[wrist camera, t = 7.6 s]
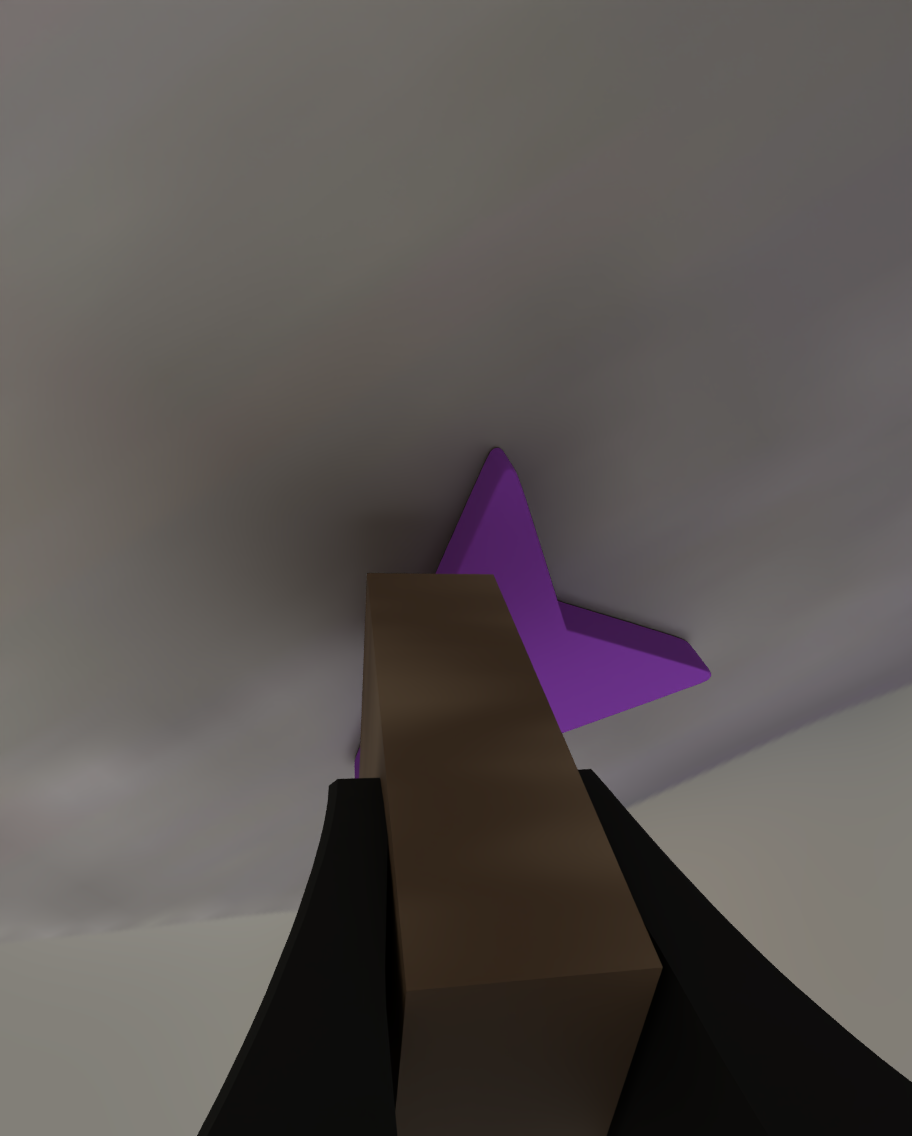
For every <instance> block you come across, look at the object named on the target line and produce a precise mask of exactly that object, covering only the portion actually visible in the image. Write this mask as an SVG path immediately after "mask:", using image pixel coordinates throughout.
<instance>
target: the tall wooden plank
mask: <svg viewBox="0 0 912 1136" xmlns="http://www.w3.org/2000/svg"><path fill="white" fill-rule="evenodd" d="M359 778H380V780H381V787H382V794H383V801H384V809H385V817H386V825H387V834H388V857H387V904H386V950H385V983H386V1011H387V1023H388V1034H389V1046H390V1058H391V1069H392V1081H393V1093H394V1104H395V1114H396V1125H397V1136H607V1133H608V1130H609V1127H610V1124H611V1121H612V1118H613V1115H614V1112H615V1109H616V1106H617V1103H618V1100H619V1097H620V1094H621V1091H622V1088H623V1085H624V1082H625V1079H626V1076H627V1073H628V1070H629V1067H630V1064H631V1061H632V1058H633V1055H634V1052H635V1049H636V1046H637V1043H638V1040H639V1037H640V1034H641V1031H642V1028H643V1025H644V1022H645V1019H646V1016H647V1013H648V1010H649V1007H650V1004H651V1001H652V998H653V995H654V992H655V989H656V986H657V983H658V980H659V977H660V974H661V971H662V968H663V967H662V964H661V962H660V960H659V957H658V955H657V953H656V950H655V948H654V946H653V944H652V941H651V939H650V937H649V934H648V932H647V930H646V927H645V925H644V923H643V920H642V918H641V916H640V913H639V911H638V909H637V906H636V904H635V902H634V899H633V897H632V895H631V892H630V890H629V888H628V885H627V883H626V881H625V879H624V876H623V874H622V872H621V869H620V867H619V865H618V862H617V860H616V858H615V855H614V853H613V851H612V848H611V846H610V844H609V841H608V839H607V837H606V834H605V832H604V830H603V827H602V825H601V823H600V820H599V818H598V816H597V814H596V811H595V809H594V807H593V804H592V802H591V800H590V797H589V795H588V793H587V790H586V788H585V786H584V783H583V781H582V779H581V776H580V774H579V772H578V769H577V767H576V765H575V762H574V760H573V758H572V756H571V753H570V751H569V749H568V746H567V744H566V742H565V739H564V737H563V735H562V732H561V730H560V728H559V725H558V723H557V721H556V718H555V716H554V714H553V711H552V709H551V707H550V704H549V702H548V700H547V697H546V695H545V693H544V691H543V688H542V686H541V684H540V681H539V679H538V677H537V674H536V672H535V670H534V667H533V665H532V663H531V660H530V658H529V656H528V653H527V651H526V649H525V646H524V644H523V642H522V639H521V637H520V635H519V633H518V630H517V628H516V626H515V623H514V621H513V619H512V616H511V614H510V612H509V609H508V607H507V605H506V602H505V600H504V598H503V595H502V593H501V591H500V588H499V586H498V584H497V581H496V579H495V577H494V574H408V573H367V586H366V612H365V638H364V664H363V690H362V716H361V742H360V768H359Z"/></svg>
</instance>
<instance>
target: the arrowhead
mask: <svg viewBox="0 0 912 1136" xmlns="http://www.w3.org/2000/svg"><path fill="white" fill-rule="evenodd" d="M435 574H494V577H495V579H496V581H497V584H498V586H499V588H500V591H501V593H502V595H503V598H504V600H505V602H506V605H507V607H508V609H509V612H510V614H511V616H512V619H513V621H514V623H515V626H516V628H517V630H518V633H519V635H520V637H521V639H522V642H523V644H524V646H525V649H526V651H527V653H528V656H529V658H530V660H531V663H532V665H533V667H534V670H535V672H536V674H537V677H538V679H539V681H540V684H541V686H542V688H543V691H544V693H545V695H546V697H547V700H548V702H549V704H550V707H551V709H552V711H553V714H554V716H555V718H556V721H557V723H558V725H559V728H560V730H561V732H562V733H564V732H566V731H569V730H572V729H575V728H578V727H580V726H583V725H586V724H589V723H592V722H594V721H597V720H600V719H603V718H606V717H608V716H611V715H614V714H617V713H620V712H622V711H625V710H628V709H631V708H634V707H636V706H639V705H642V704H645V703H647V702H650V701H653V700H656V699H659V698H661V697H664V696H667V695H670V694H672V693H675V692H678V691H681V690H683V689H686V688H689V687H691V686H694V685H697V684H699V683H702V682H704V681H707V680H708V679H709V678H710V677H711V672H710V670H709V669H708V667H707V666H706V665H705V664H704V662H703V661H702V660H701V658H700V657H699V656H698V654H697V653H696V652H695V650H694V649H693V648H692V647H691V645H690V644H689V643H688V642H686V641H685V640H683V639H680V638H677V637H674V636H671V635H668V634H665V633H662V632H658V631H655V630H652V629H649V628H645V627H642V626H639V625H636V624H632V623H629V622H626V621H622V620H619V619H616V618H612V617H609V616H606V615H602V614H599V613H596V612H593V611H589V610H586V609H583V608H579V607H576V606H573V605H569V604H566V603H563V602H559V601H558V600H557V597H556V594H555V591H554V588H553V584H552V581H551V578H550V575H549V571H548V568H547V565H546V562H545V559H544V555H543V552H542V549H541V546H540V543H539V539H538V536H537V533H536V530H535V527H534V523H533V520H532V517H531V514H530V511H529V508H528V505H527V501H526V498H525V495H524V492H523V489H522V486H521V483H520V480H519V478H518V475H517V473H516V471H515V469H514V467H513V466H512V464H511V463H510V461H509V459H508V458H507V456H506V455H505V453H504V452H503V450H502V449H500V448H494V449H493V450H492V451H491V452H490V453H489V455H488V457H487V459H486V461H485V464H484V466H483V468H482V470H481V472H480V474H479V477H478V479H477V481H476V483H475V485H474V488H473V490H472V492H471V494H470V497H469V499H468V501H467V503H466V506H465V508H464V510H463V512H462V515H461V517H460V519H459V521H458V524H457V526H456V528H455V530H454V533H453V535H452V537H451V539H450V542H449V544H448V546H447V548H446V551H445V553H444V555H443V558H442V560H441V562H440V564H439V567H438V569H437V571H436V573H435ZM359 768H360V748H359V750H358V753H357V755H356V758H355V778H359Z"/></svg>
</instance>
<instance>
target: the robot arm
mask: <svg viewBox="0 0 912 1136" xmlns="http://www.w3.org/2000/svg"><path fill="white" fill-rule="evenodd" d="M578 772H579V774H580V776H581V779H582V781H583V783H584V786H585V788H586V790H587V793H588V795H589V797H590V800H591V802H592V804H593V807H594V809H595V811H596V814H597V816H598V818H599V820H600V823H601V825H602V827H603V830H604V832H605V834H606V837H607V839H608V841H609V844H610V846H611V848H612V851H613V853H614V855H615V858H616V860H617V862H618V865H619V867H620V869H621V872H622V874H623V876H624V879H625V881H626V883H627V885H628V888H629V890H630V892H631V895H632V897H633V899H634V902H635V904H636V906H637V909H638V911H639V913H640V916H641V918H642V920H643V923H644V925H645V927H646V930H647V932H648V934H649V937H650V939H651V941H652V944H653V946H654V948H655V950H656V953H657V955H658V957H659V960H660V962H661V964H662V967H663V968H662V971H661V974H660V977H659V980H658V983H657V986H656V989H655V992H654V995H653V998H652V1001H651V1004H650V1007H649V1010H648V1013H647V1016H646V1019H645V1022H644V1025H643V1028H642V1031H641V1034H640V1037H639V1040H638V1043H637V1046H636V1049H635V1052H634V1055H633V1058H632V1061H631V1064H630V1067H629V1070H628V1073H627V1076H626V1079H625V1082H624V1085H623V1088H622V1091H621V1094H620V1097H619V1100H618V1103H617V1106H616V1109H615V1112H614V1115H613V1118H612V1121H611V1124H610V1127H609V1130H608V1133H607V1136H912V1082H911V1081H909V1080H908V1079H907V1078H906V1077H904V1076H903V1075H902V1074H900V1073H899V1072H898V1071H896V1070H895V1069H894V1068H893V1067H891V1066H890V1065H889V1064H887V1063H886V1062H885V1061H884V1060H882V1059H881V1058H880V1057H879V1056H877V1055H876V1054H875V1053H874V1052H873V1051H871V1050H870V1049H869V1048H868V1047H866V1046H865V1045H864V1044H863V1043H861V1042H860V1041H859V1040H858V1039H856V1038H855V1037H854V1036H853V1035H852V1034H851V1033H849V1032H848V1031H847V1030H846V1029H845V1028H844V1027H842V1026H841V1025H840V1024H839V1023H838V1022H837V1021H836V1020H834V1019H833V1018H832V1017H831V1016H830V1015H829V1014H827V1013H826V1012H825V1011H824V1010H823V1009H822V1008H821V1007H819V1006H818V1005H817V1004H816V1003H815V1002H814V1001H812V1000H811V999H810V998H809V997H808V996H807V995H805V994H804V993H803V992H802V991H801V990H800V989H799V988H797V987H796V986H795V985H794V984H793V983H792V982H791V981H790V980H789V979H788V978H787V977H785V976H784V975H783V974H782V973H781V972H780V971H779V970H778V969H777V968H776V967H775V966H774V965H772V963H770V962H769V961H768V960H767V959H766V958H765V957H764V956H763V955H762V954H761V953H760V952H759V951H758V950H757V949H756V948H755V947H754V946H753V945H752V944H751V943H750V942H749V941H748V940H747V939H746V938H745V937H744V936H743V935H742V934H741V933H740V932H739V931H738V930H737V929H736V928H735V927H734V926H733V925H732V924H731V923H730V922H729V921H728V920H727V919H726V918H725V917H724V916H723V915H722V914H721V913H720V912H719V911H718V910H717V909H716V908H715V907H714V906H713V905H712V904H711V903H710V902H709V901H708V899H706V897H705V896H704V895H703V894H702V893H701V892H700V891H699V890H698V889H697V888H696V887H695V886H694V884H692V882H691V881H690V880H689V879H688V878H687V877H686V876H685V875H684V874H683V873H682V872H681V871H680V869H679V868H678V867H677V866H676V865H675V864H674V863H673V862H672V861H671V860H670V859H669V857H668V856H667V855H666V854H665V853H664V852H663V851H662V850H661V849H660V847H659V846H658V845H657V844H656V843H655V842H654V841H653V839H652V838H651V837H650V836H649V835H648V834H647V833H646V831H645V830H644V829H643V828H642V827H641V826H640V825H639V823H638V822H637V821H636V820H635V819H634V818H633V817H632V816H631V814H630V813H629V812H628V811H627V810H626V808H625V807H624V806H623V805H622V804H621V803H620V801H619V800H618V799H617V798H616V797H615V796H614V794H613V793H612V792H611V791H610V790H609V789H608V787H607V786H606V785H605V784H604V783H603V782H602V781H601V779H600V778H599V777H598V776H597V775H596V774H595V773H594V772H593V771H592V770H591V769H583V770H578ZM387 857H388V834H387V825H386V817H385V809H384V801H383V794H382V787H381V780H380V778H354V779H337V780H336V781H335V782H333V783H332V784H331V785H329V792H328V804H327V810H326V816H325V821H324V826H323V830H322V834H321V839H320V842H319V846H318V850H317V853H316V857H315V861H314V864H313V868H312V871H311V874H310V877H309V880H308V883H307V886H306V889H305V892H304V895H303V898H302V901H301V904H300V907H299V910H298V913H297V916H296V918H295V921H294V924H293V927H292V929H291V932H290V935H289V937H288V940H287V942H286V944H285V947H284V949H283V952H282V954H281V957H280V959H279V962H278V965H277V967H276V969H275V972H274V974H273V977H272V979H271V981H270V984H269V986H268V989H267V991H266V994H265V996H264V998H263V1001H262V1003H261V1005H260V1007H259V1010H258V1012H257V1014H256V1016H255V1019H254V1021H253V1023H252V1025H251V1028H250V1030H249V1032H248V1034H247V1036H246V1039H245V1041H244V1043H243V1045H242V1047H241V1049H240V1051H239V1053H238V1055H237V1057H236V1060H235V1062H234V1064H233V1066H232V1068H231V1070H230V1072H229V1074H228V1077H227V1078H226V1080H225V1083H224V1084H223V1086H222V1088H221V1090H220V1093H219V1094H218V1097H217V1098H216V1100H215V1102H214V1104H213V1106H212V1108H211V1110H210V1112H209V1114H208V1116H207V1118H206V1120H205V1121H204V1123H203V1125H202V1127H201V1129H200V1131H199V1133H198V1135H197V1136H397V1125H396V1114H395V1104H394V1093H393V1081H392V1069H391V1058H390V1046H389V1034H388V1023H387V1011H386V983H385V950H386V904H387Z"/></svg>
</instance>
